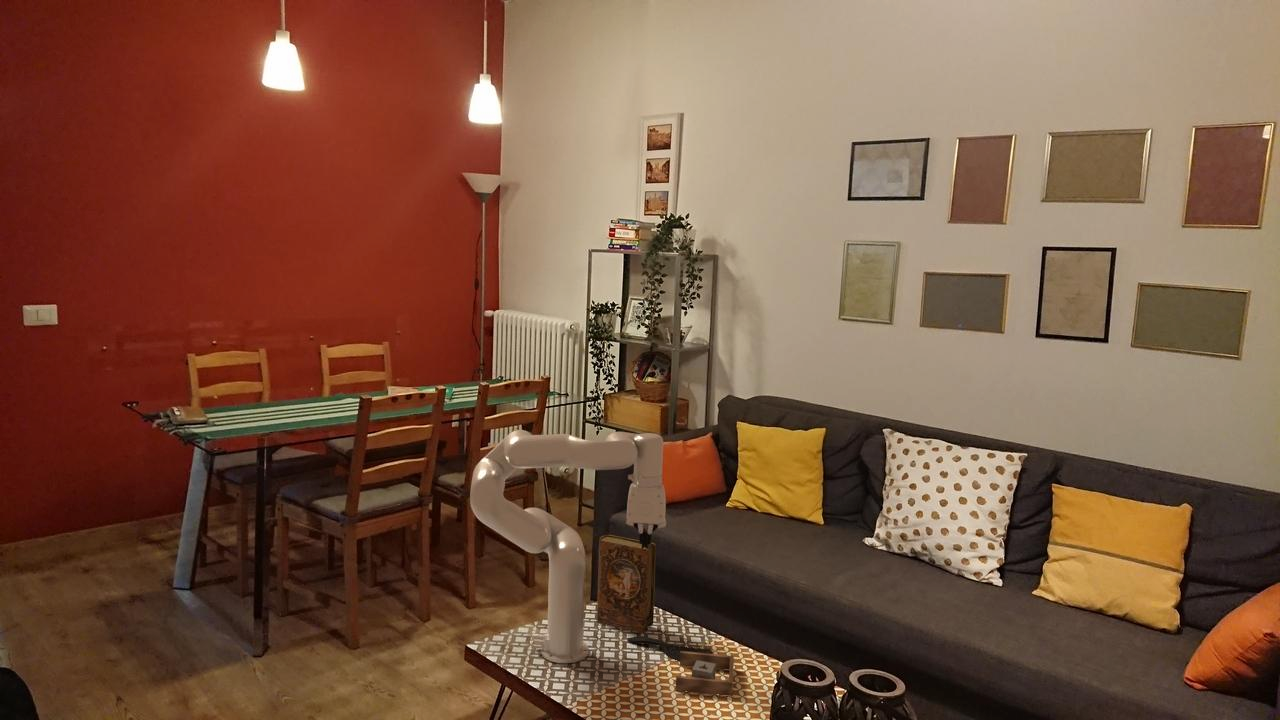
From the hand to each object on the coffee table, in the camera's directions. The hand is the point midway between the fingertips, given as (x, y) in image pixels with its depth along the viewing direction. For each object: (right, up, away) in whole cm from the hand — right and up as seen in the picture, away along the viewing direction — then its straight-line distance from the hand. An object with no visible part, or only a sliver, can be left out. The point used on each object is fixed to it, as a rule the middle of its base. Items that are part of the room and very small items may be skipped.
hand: (645, 546), depth 223 cm
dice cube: (+14, -32, -14) cm, 38 cm away
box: (+15, -31, -11) cm, 37 cm away
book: (-6, -27, +18) cm, 33 cm away
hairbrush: (+6, -30, +4) cm, 31 cm away
